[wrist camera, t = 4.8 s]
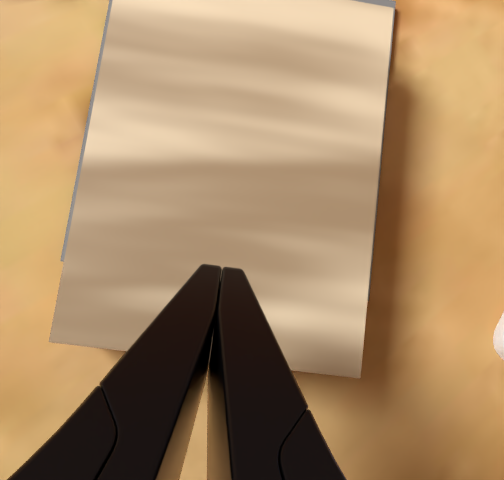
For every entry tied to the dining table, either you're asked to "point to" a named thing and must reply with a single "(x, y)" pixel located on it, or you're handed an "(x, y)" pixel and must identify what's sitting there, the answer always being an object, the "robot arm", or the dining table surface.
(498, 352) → the tablet computer
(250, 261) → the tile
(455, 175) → the dining table surface
